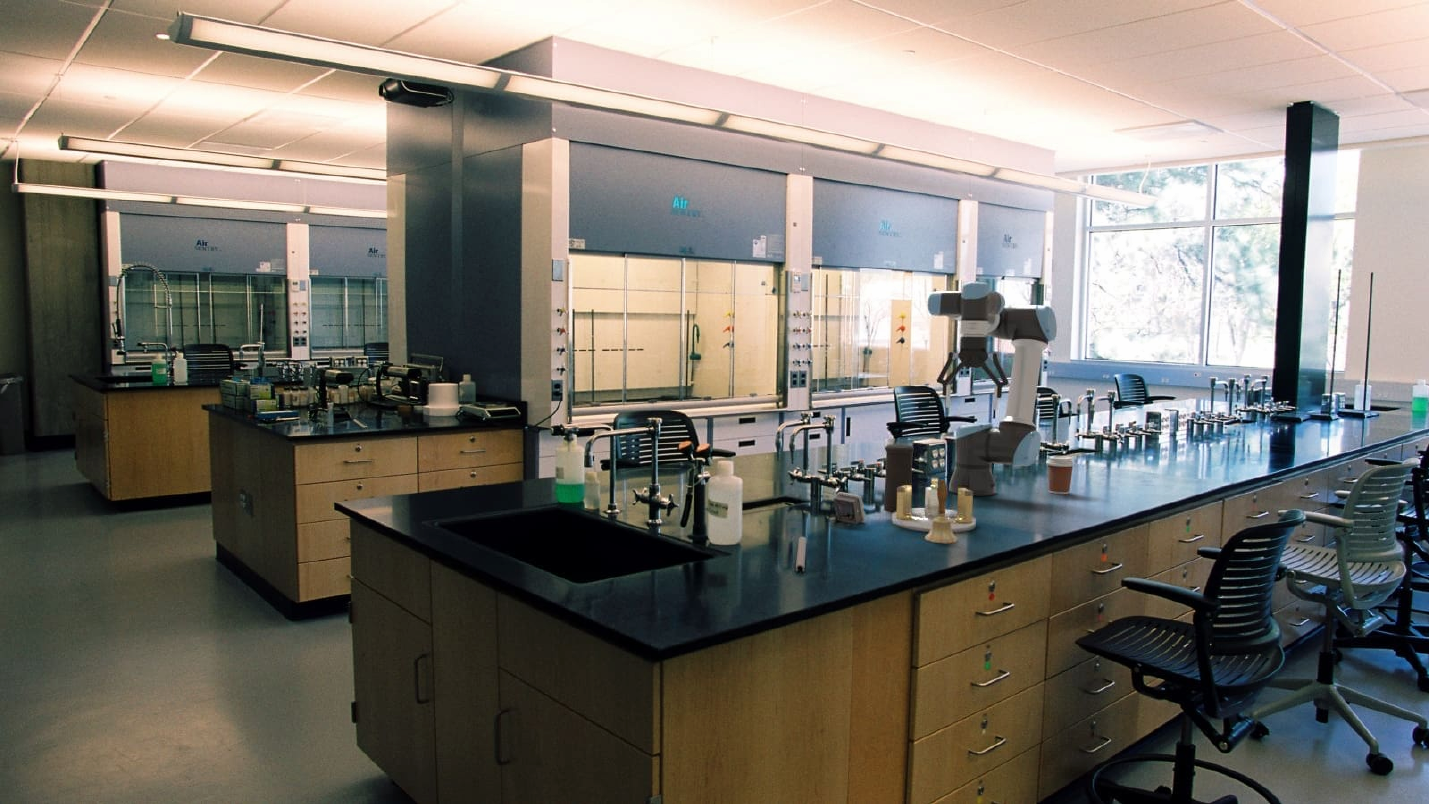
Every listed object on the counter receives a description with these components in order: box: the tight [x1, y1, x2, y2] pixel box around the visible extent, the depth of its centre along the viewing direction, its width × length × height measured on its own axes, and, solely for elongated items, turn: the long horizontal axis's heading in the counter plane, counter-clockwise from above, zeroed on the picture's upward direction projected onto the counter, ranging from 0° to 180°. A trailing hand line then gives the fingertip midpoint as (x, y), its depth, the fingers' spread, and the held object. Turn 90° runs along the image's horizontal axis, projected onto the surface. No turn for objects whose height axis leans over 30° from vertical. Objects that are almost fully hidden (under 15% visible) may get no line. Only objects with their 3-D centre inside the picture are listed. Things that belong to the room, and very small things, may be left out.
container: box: [883, 443, 915, 513], centre depth 273 cm, size 9×9×20 cm
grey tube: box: [795, 536, 807, 572], centre depth 218 cm, size 2×27×2 cm, turn 173°
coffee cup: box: [1045, 455, 1076, 495], centre depth 304 cm, size 9×9×12 cm
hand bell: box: [924, 478, 958, 545], centre depth 236 cm, size 8×8×16 cm
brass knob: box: [930, 477, 939, 485], centre depth 264 cm, size 6×4×9 cm
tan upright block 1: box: [896, 485, 912, 519], centre depth 252 cm, size 6×4×9 cm
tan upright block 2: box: [956, 488, 974, 523], centre depth 248 cm, size 6×4×9 cm
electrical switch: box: [833, 491, 866, 525], centre depth 257 cm, size 8×5×8 cm, turn 44°
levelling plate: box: [891, 484, 977, 534], centre depth 255 cm, size 23×23×11 cm
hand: (971, 408), depth 265 cm, fingers open, 13 cm apart
